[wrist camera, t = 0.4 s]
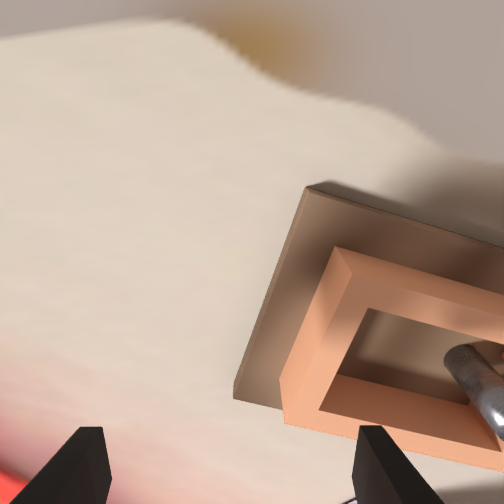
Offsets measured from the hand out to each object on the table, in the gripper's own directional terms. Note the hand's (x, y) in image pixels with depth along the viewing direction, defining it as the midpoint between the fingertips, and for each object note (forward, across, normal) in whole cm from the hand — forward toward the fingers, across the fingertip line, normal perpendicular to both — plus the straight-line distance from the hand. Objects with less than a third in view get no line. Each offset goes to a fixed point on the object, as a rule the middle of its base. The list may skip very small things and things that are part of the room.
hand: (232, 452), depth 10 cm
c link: (+8, -9, +2) cm, 13 cm away
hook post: (+8, -12, +3) cm, 15 cm away
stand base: (+10, -9, +2) cm, 13 cm away
